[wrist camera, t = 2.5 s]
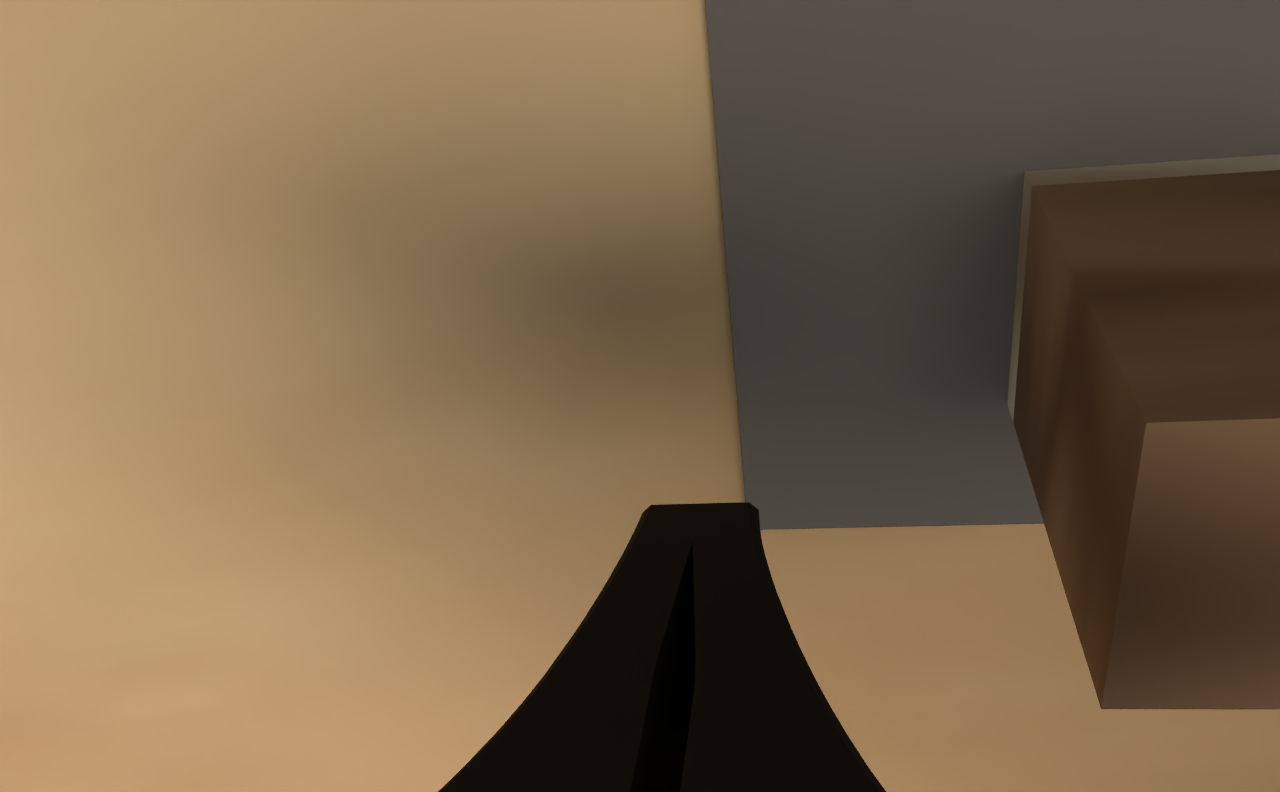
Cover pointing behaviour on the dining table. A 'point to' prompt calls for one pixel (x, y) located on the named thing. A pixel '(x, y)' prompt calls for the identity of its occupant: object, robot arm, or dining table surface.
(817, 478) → the felt mat
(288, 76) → the dining table surface
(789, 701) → the robot arm
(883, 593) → the dining table surface
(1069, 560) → the walnut block
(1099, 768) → the dining table surface
